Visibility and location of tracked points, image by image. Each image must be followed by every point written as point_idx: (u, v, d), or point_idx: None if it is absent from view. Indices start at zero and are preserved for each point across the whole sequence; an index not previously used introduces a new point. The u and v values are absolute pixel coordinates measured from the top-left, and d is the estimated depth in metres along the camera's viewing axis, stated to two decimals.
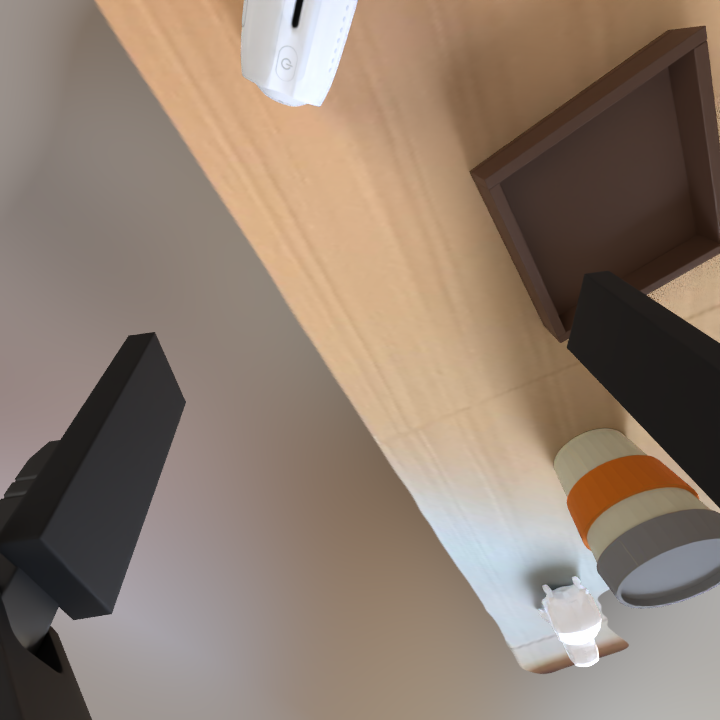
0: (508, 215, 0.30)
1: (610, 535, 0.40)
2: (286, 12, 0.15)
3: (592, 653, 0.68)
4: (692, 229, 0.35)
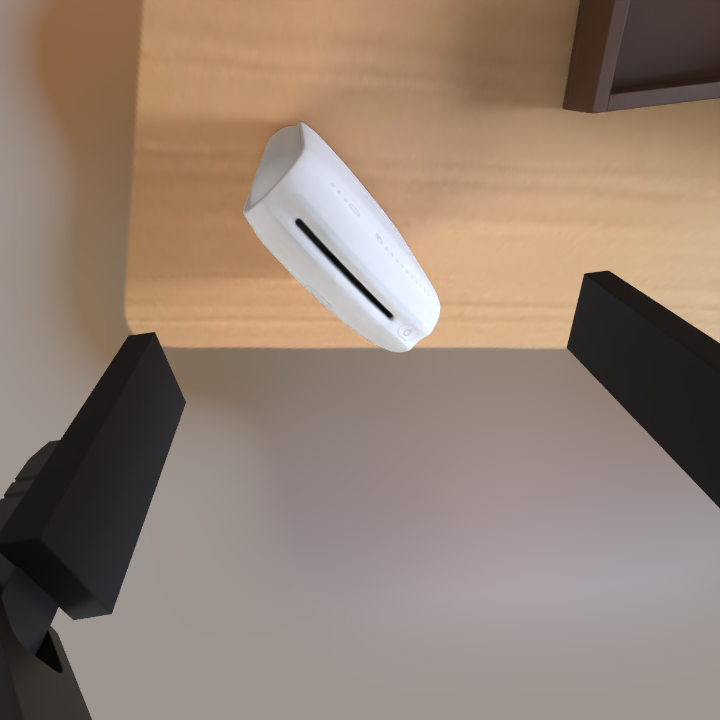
0: (652, 96, 0.22)
1: None
2: (382, 322, 0.18)
3: None
4: None
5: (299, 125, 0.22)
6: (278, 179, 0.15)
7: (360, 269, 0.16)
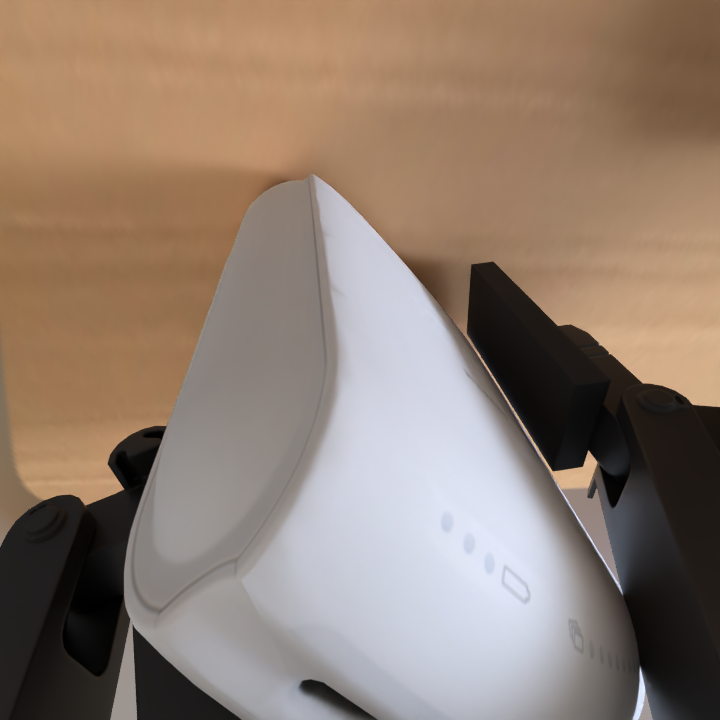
0: None
1: None
2: None
3: None
4: None
5: (310, 189, 0.10)
6: (233, 521, 0.04)
7: None
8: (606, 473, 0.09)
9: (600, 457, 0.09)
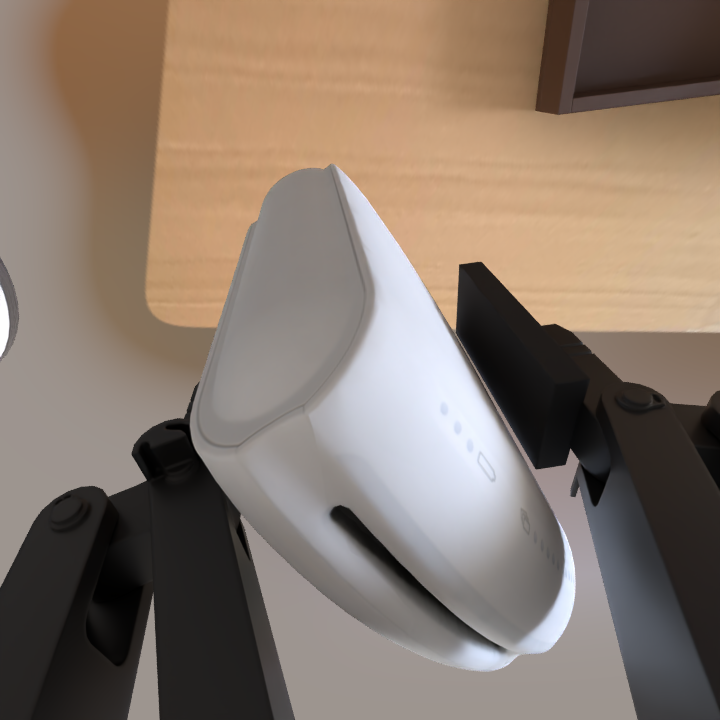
0: (611, 99, 0.25)
1: None
2: (487, 666, 0.08)
3: None
4: None
5: (333, 175, 0.12)
6: (296, 387, 0.05)
7: (480, 617, 0.06)
8: (588, 471, 0.09)
9: (581, 456, 0.09)
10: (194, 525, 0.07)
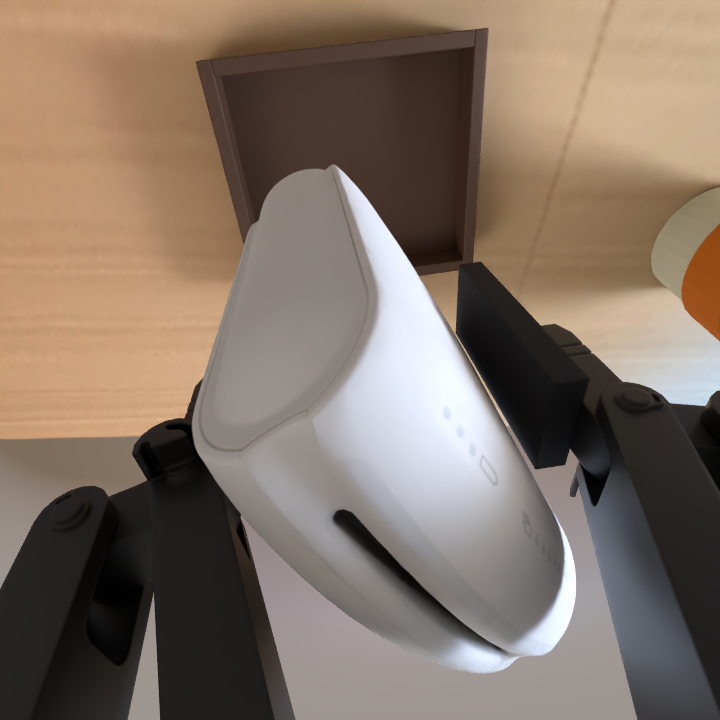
0: None
1: None
2: (488, 668, 0.08)
3: None
4: (450, 54, 0.26)
5: (334, 176, 0.12)
6: (299, 391, 0.05)
7: (481, 620, 0.06)
8: (588, 471, 0.09)
9: (581, 456, 0.09)
10: (194, 525, 0.07)
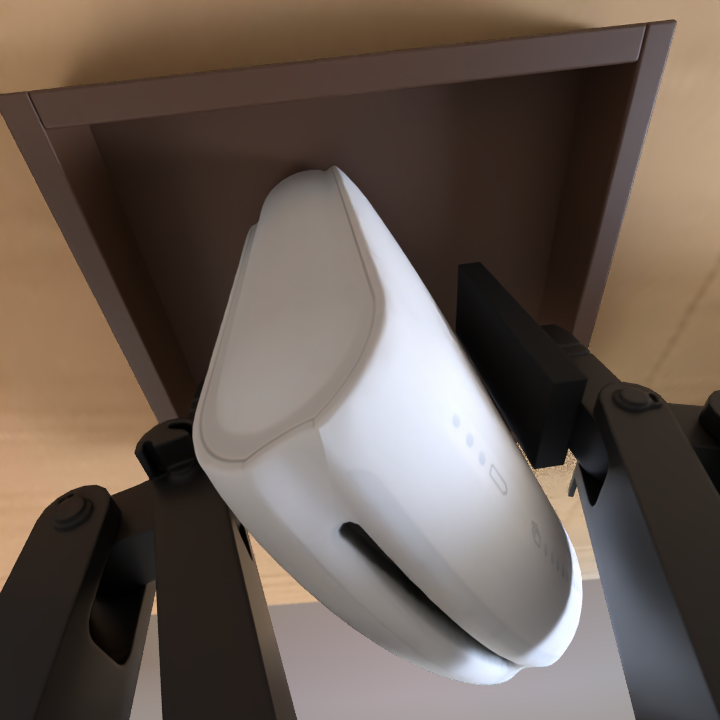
0: None
1: None
2: (494, 679, 0.08)
3: None
4: (562, 74, 0.13)
5: (336, 178, 0.12)
6: (304, 400, 0.05)
7: (490, 634, 0.06)
8: (585, 471, 0.09)
9: (579, 456, 0.09)
10: (197, 524, 0.07)
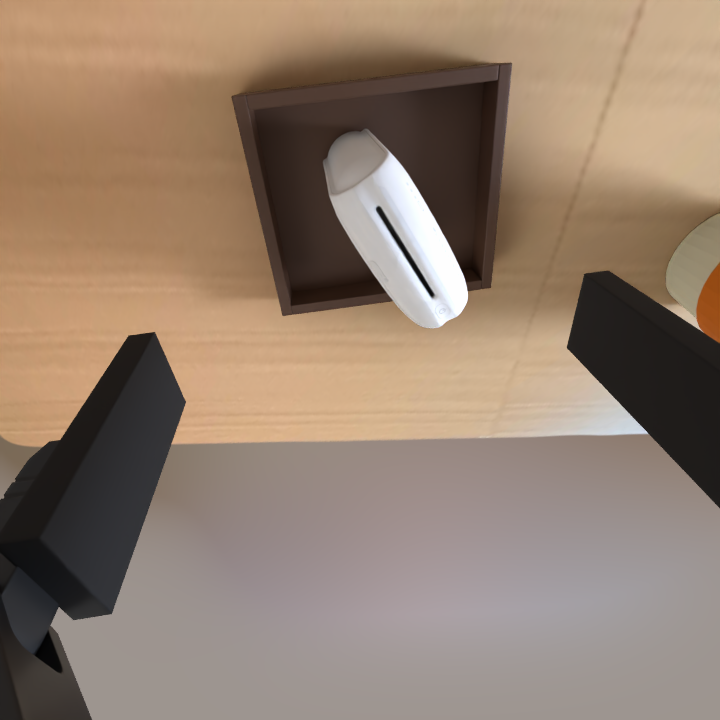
0: (323, 305, 0.32)
1: None
2: (425, 298, 0.22)
3: None
4: (473, 85, 0.27)
5: (367, 132, 0.26)
6: (367, 173, 0.19)
7: (418, 253, 0.20)
8: None
9: None
10: None
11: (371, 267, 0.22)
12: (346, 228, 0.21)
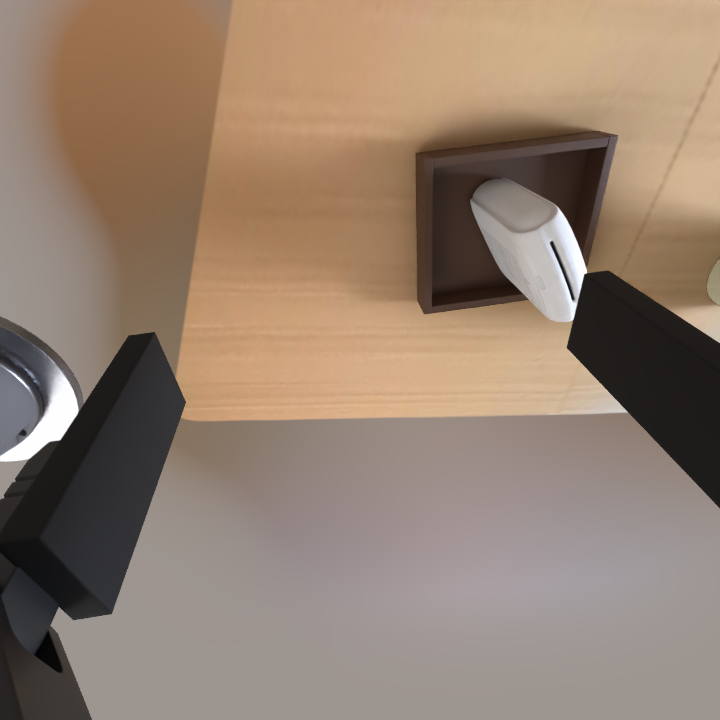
0: (455, 306, 0.42)
1: None
2: (570, 301, 0.32)
3: None
4: None
5: (511, 182, 0.36)
6: (544, 219, 0.29)
7: (573, 271, 0.30)
8: None
9: None
10: None
11: (533, 280, 0.32)
12: (521, 254, 0.31)
